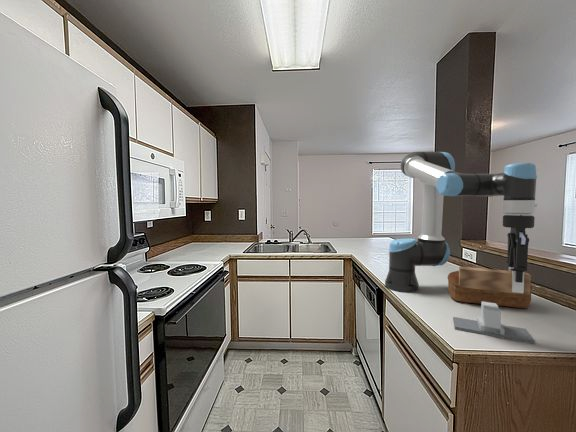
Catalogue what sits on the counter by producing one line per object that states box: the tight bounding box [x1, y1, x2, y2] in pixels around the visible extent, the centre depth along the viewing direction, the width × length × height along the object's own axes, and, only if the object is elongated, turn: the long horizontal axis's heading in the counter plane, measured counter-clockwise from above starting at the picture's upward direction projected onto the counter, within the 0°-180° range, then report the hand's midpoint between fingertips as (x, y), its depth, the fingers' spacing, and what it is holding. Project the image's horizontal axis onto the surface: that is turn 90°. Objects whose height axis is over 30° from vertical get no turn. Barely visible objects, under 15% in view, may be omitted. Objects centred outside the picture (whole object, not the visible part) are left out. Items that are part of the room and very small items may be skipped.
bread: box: [447, 270, 533, 309], centre depth 117 cm, size 14×28×12 cm, turn 71°
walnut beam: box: [458, 266, 532, 295], centre depth 90 cm, size 18×4×6 cm, turn 62°
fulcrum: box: [452, 301, 536, 344], centre depth 90 cm, size 20×9×8 cm, turn 63°
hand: (515, 290), depth 87 cm, fingers closed on walnut beam, 4 cm apart
